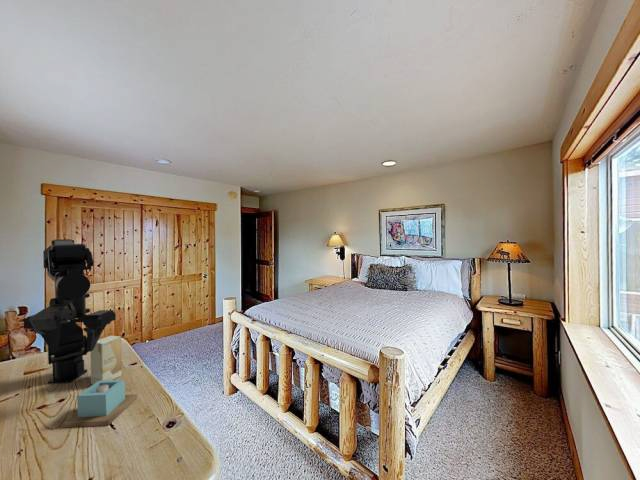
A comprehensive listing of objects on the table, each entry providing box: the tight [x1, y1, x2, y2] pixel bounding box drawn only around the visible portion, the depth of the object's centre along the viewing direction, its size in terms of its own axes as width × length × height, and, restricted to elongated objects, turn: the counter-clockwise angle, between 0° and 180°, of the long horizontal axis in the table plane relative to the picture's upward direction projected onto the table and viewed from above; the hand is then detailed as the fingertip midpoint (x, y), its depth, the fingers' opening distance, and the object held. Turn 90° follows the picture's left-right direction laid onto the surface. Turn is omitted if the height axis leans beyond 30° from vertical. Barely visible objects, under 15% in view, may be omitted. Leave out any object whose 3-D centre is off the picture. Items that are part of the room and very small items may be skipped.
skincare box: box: [90, 335, 123, 385], centre depth 79 cm, size 6×4×12 cm
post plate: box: [62, 385, 138, 428], centre depth 65 cm, size 10×10×6 cm
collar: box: [76, 379, 126, 417], centre depth 65 cm, size 6×6×5 cm
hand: (72, 351), depth 69 cm, fingers open, 9 cm apart
